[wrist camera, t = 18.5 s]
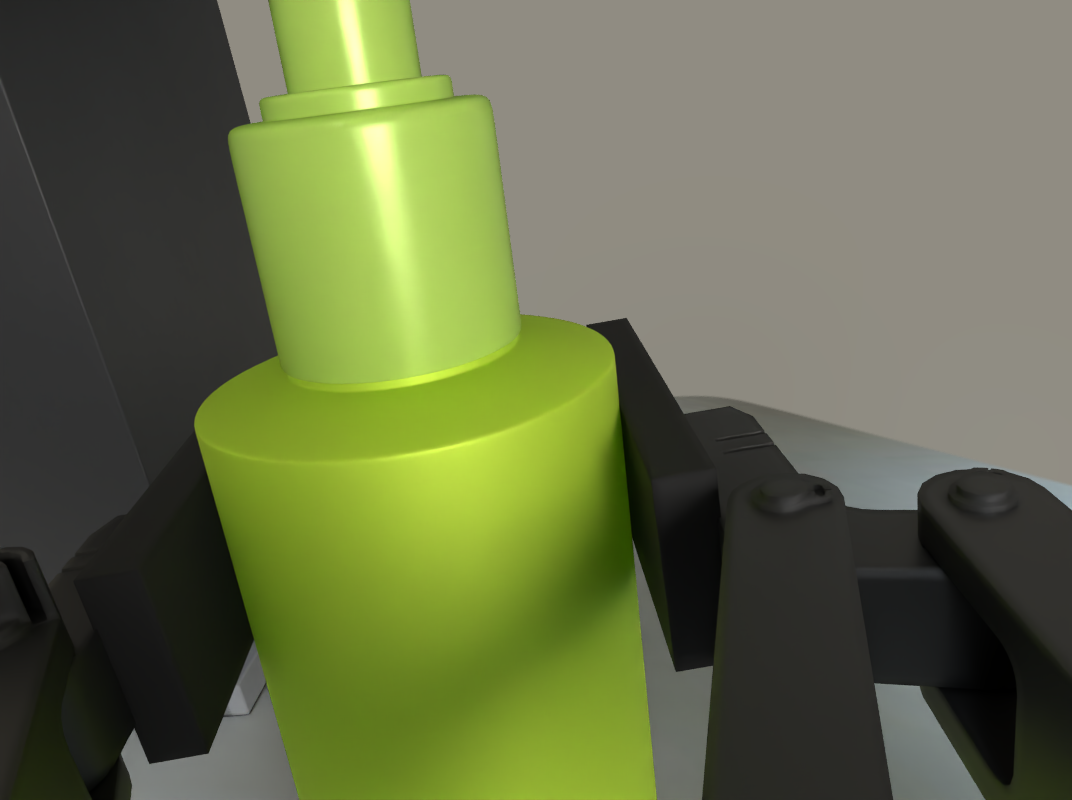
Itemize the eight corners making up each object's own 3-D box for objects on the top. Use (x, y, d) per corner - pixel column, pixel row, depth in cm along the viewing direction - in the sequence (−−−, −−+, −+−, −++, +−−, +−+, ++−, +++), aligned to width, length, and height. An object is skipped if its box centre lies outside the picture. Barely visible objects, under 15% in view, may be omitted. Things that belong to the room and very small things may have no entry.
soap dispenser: (778, 1126, 14) (723, -355, 7) (363, 1218, 14) (-113, -272, 7) (681, 840, 20) (596, -165, 13) (381, 899, 19) (125, -113, 12)
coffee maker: (666, 467, 38) (570, -313, 28) (696, 679, 25) (538, -623, 15) (204, 519, 41) (-35, -171, 31) (19, 733, 28) (-495, -329, 18)
